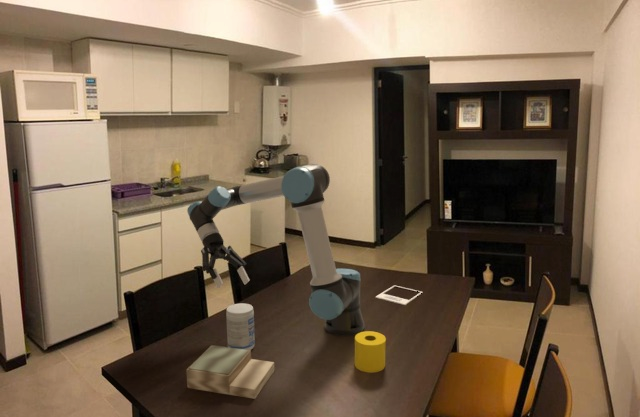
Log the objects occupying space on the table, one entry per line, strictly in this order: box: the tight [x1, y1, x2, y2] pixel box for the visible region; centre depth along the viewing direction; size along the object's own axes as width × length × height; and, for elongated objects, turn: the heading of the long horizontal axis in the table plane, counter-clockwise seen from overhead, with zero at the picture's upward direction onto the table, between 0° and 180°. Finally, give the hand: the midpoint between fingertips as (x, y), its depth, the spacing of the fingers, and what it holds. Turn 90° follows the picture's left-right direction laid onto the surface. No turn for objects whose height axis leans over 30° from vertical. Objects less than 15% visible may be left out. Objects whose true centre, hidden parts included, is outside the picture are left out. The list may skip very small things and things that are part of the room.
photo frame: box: [375, 285, 423, 306], centre depth 218 cm, size 15×1×18 cm
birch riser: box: [185, 344, 275, 400], centre depth 149 cm, size 22×16×6 cm
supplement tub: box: [225, 302, 256, 351], centre depth 169 cm, size 10×10×15 cm
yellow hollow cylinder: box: [354, 330, 387, 373], centre depth 157 cm, size 10×10×9 cm
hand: (234, 284), depth 176 cm, fingers open, 13 cm apart
